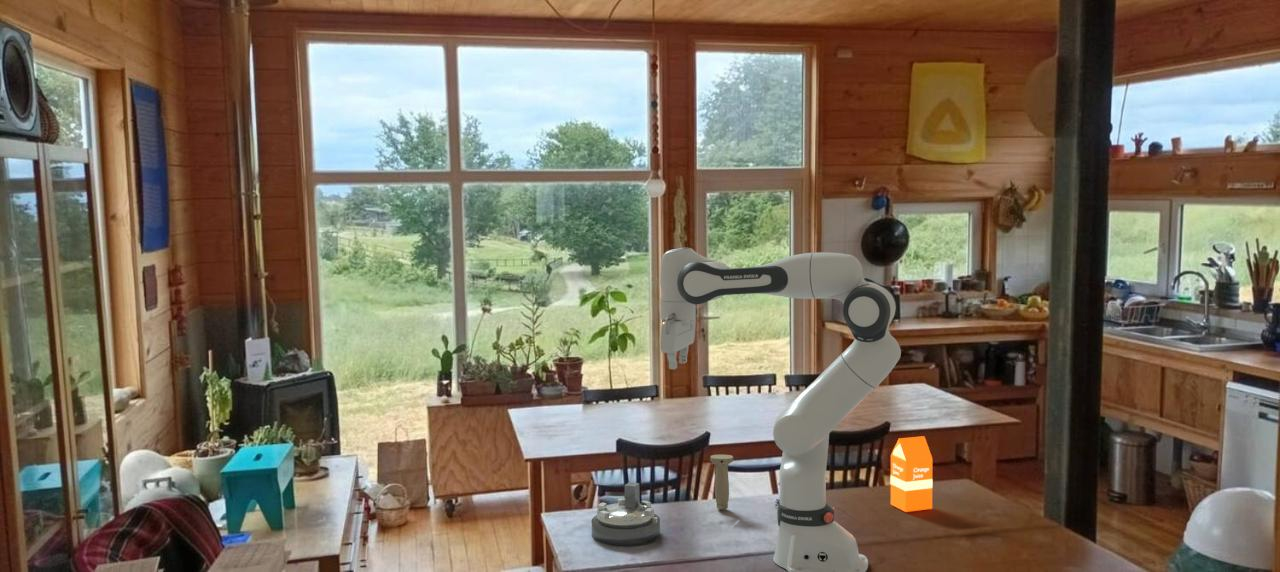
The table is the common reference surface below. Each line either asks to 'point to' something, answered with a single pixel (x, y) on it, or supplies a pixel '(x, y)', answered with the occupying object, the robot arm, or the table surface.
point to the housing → (626, 533)
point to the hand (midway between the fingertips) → (678, 366)
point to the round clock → (626, 510)
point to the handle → (722, 479)
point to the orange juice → (911, 475)
